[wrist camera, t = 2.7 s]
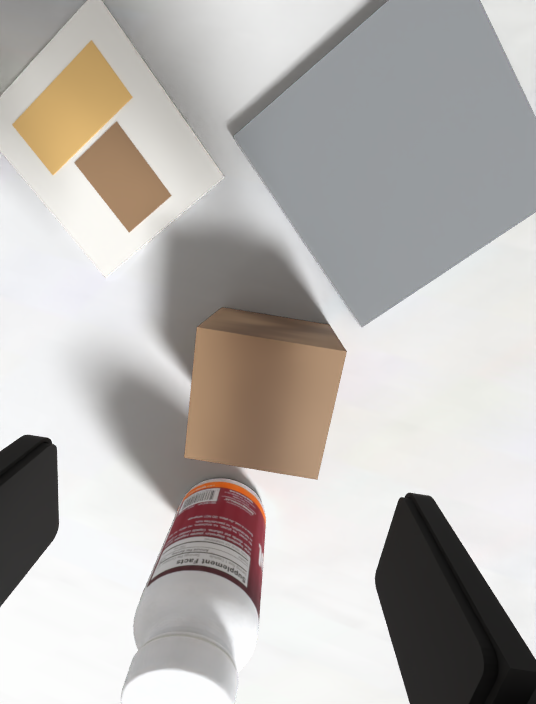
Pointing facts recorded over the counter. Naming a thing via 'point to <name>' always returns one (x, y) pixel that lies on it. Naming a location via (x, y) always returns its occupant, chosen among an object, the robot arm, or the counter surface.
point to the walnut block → (263, 392)
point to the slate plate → (400, 150)
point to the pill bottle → (201, 600)
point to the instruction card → (102, 140)
